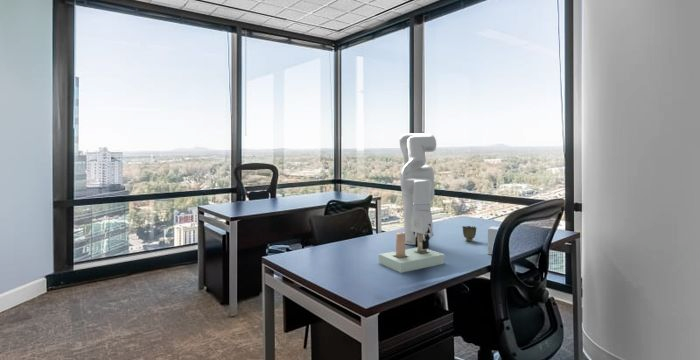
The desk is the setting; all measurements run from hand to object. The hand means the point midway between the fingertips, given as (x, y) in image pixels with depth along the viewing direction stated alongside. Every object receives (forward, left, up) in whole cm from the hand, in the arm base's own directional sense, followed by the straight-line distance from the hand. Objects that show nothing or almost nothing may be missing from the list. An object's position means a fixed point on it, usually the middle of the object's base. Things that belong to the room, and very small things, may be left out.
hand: (422, 247), depth 169 cm
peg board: (0, -6, -7) cm, 9 cm away
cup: (-18, +49, -7) cm, 53 cm away
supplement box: (+7, +41, -7) cm, 42 cm away
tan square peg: (0, -12, -6) cm, 13 cm away
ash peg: (0, 0, -5) cm, 5 cm away
